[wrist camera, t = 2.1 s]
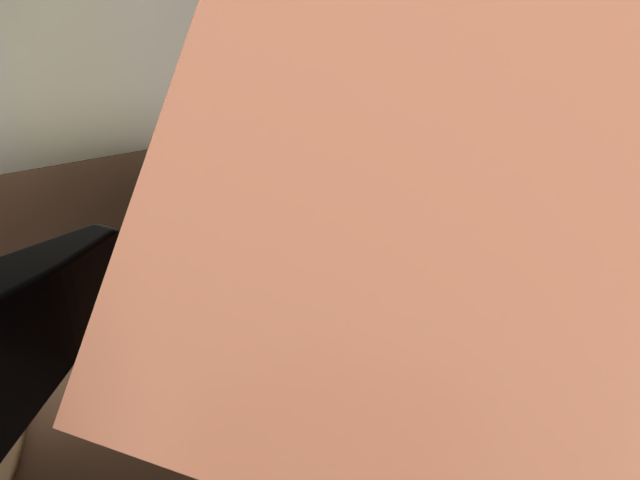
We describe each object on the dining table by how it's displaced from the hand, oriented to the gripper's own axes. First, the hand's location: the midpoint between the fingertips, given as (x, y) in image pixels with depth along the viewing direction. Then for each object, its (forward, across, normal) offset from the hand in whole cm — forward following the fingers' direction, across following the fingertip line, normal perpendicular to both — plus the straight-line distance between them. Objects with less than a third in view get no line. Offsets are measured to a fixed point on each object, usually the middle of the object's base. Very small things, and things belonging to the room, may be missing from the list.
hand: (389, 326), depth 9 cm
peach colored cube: (+5, 0, +4) cm, 6 cm away
